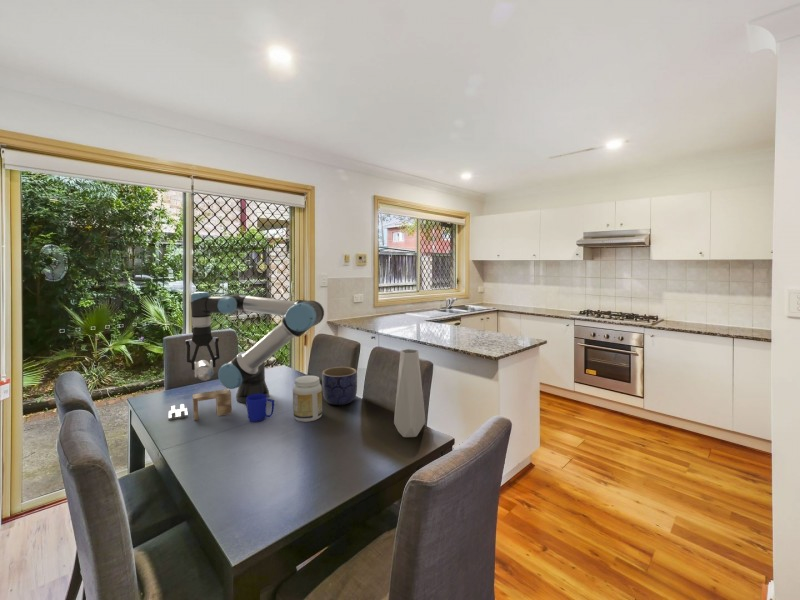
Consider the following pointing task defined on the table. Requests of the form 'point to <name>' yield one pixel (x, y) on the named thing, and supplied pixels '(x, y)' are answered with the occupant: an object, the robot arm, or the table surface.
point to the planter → (339, 385)
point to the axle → (204, 370)
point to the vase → (409, 395)
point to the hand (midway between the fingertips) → (204, 375)
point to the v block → (178, 412)
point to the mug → (258, 407)
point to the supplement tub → (307, 398)
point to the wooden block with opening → (221, 401)
